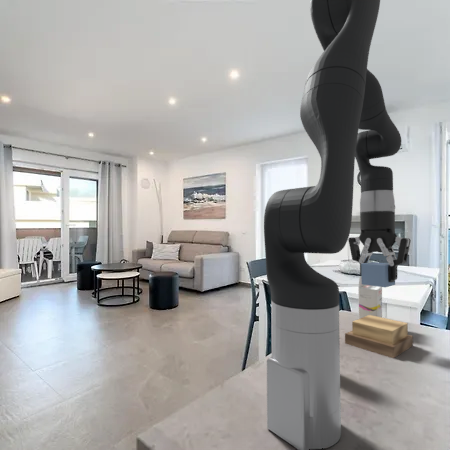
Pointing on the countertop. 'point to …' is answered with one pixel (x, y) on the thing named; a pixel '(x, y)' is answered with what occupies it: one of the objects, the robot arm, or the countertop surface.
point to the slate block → (375, 274)
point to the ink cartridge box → (369, 300)
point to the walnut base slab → (379, 345)
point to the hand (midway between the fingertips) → (378, 280)
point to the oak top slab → (380, 329)
